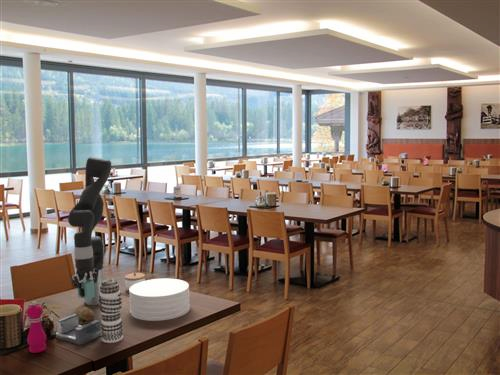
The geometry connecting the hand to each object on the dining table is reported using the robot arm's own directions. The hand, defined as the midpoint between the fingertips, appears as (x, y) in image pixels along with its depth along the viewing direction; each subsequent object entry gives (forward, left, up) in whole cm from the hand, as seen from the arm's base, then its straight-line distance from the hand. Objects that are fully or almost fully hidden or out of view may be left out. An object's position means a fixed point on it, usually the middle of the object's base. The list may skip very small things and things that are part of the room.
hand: (86, 294), depth 237 cm
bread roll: (-12, +7, -16) cm, 21 cm away
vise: (+2, -7, -16) cm, 18 cm away
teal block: (0, 0, -1) cm, 1 cm away
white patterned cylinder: (+16, -1, -16) cm, 23 cm away
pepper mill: (-2, -24, -16) cm, 29 cm away
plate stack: (+10, +35, -16) cm, 40 cm away
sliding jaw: (-4, -7, -14) cm, 16 cm away
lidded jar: (-23, +52, -16) cm, 59 cm away
